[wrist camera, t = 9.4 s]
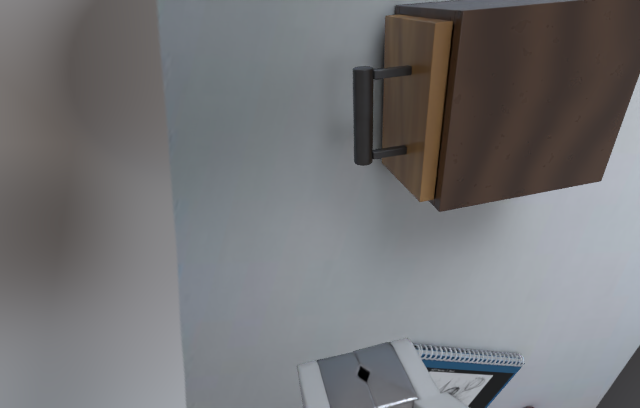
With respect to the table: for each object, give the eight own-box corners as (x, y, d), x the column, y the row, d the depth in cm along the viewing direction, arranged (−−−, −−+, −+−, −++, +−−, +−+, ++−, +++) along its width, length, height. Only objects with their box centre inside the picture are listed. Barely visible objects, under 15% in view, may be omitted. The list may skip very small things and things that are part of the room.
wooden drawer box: (389, 163, 36) (439, 212, 28) (395, 5, 30) (463, 10, 21) (521, 141, 39) (601, 181, 31) (554, -9, 32) (669, -8, 24)
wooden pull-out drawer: (338, 169, 34) (367, 211, 28) (332, 20, 28) (368, 29, 22) (508, 142, 37) (570, 174, 31) (537, 2, 31) (623, 5, 25)
